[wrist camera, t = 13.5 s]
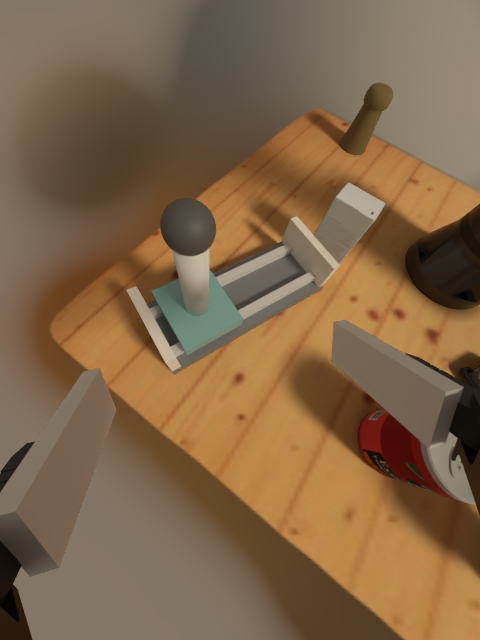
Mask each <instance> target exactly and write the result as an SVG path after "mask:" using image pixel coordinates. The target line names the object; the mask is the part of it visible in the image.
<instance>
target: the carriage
mask: <svg viewBox="0 0 480 640" xmlns="http://www.w3.org/2000/svg"><path fill="white" fill-rule="evenodd" d="M160 227H161V233H162V236H163V238H164V240H165V242H166V243H167V245H168V246H169V247H170V248H171V249H172V250H173V255H174V259H175V264H176V268H177V273H178V277H179V279H176V280H174V281H172V282H170V283H167V284H165V285H163V286H161V287H159V288H156V289H154V290H152V291H151V292H152V294H153V296H154V298H155V300H156V302H157V304H158V305H159V307H160V309H161V311H162V312H163V314H164V316H165V318H166V319H167V321H168V323H169V325H170V326H171V328H172V330H173V332H174V333H175V335H176V337H177V339H178V340H179V342H180V344H181V346H182V347H183V349H184V351H185V353H186V354H187V355H189V354H190V353H192V352H194V351H196V350H198V349H199V348H201V347H203V346H205V345H206V344H208V343H210V342H212V341H214V340H215V339H217V338H219V337H221V336H222V335H224V334H226V333H228V332H229V331H231V330H233V329H235V328H237V327H238V326H240V325H242V322H243V318H242V316H241V315H240V313H239V312H238V310H237V309H236V307H235V306H234V304H233V303H232V301H231V300H230V298H229V297H228V296H227V294H226V293H225V291H224V290H223V288H222V287H221V285H220V284H219V282H218V281H217V279H216V278H215V276H214V275H213V273H212V272H211V270H210V269H209V247H210V246H211V245H212V243H213V241H214V239H215V235H216V224H215V220H214V217H213V215H212V213H211V212H210V210H209V209H208V208H207V207H206V206H205V205H204V204H203V203H201V202H199V201H197V200H195V199H191V198H181V199H178V200H175V201H173V202H172V203H170V204H169V205H168V206H167V207H166V209H165V210H164V212H163V214H162V217H161V226H160Z"/></svg>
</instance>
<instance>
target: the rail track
mask: <svg viewBox="0 0 480 640" xmlns="http://www.w3.org/2000/svg"><path fill="white" fill-rule="evenodd" d="M339 267H340V265H339V264H338V263H337V261H336V260H335V259H334V258H333V257H332V256H331V255H330V253H329V252H328V251H327V250H326V249H325V248H324V247H323V245H322V244H321V243H320V242H319V241H318V240H317V239H316V237H315V236H314V235H313V234H312V233H311V232H310V231H309V229H308V228H307V227H306V226H305V225H304V224H303V223H302V221H301V220H300V219H299V218H298V217H297V216H296V217H294V218H291V219H290V221H289V224H288V226H287V229H286V231H285V234H284V236H283V239H282V241H281V242H280V243H278V244H276V245H273V246H271V247H269V248H267V249H265V250H263V251H260V252H258V253H256V254H254V255H252V256H250V257H248V258H245V259H243V260H241V261H239V262H237V263H235V264H233V265H230V266H228V267H226V268H224V269H222V270H220V271H217V272H215V273H213V275H214V276H215V278H216V279H217V281H218V282H219V284H220V285H221V287H222V288H223V290H224V291H225V293H226V294H227V296H228V297H229V298H230V300H231V301H232V303H233V304H234V306H235V307H236V309H237V310H238V312H239V313H240V315H241V316H242V318H243V322H242V325H240V326H238V327H237V328H235V329H233V330H231V331H229V332H228V333H226V334H224V335H222V336H221V337H219V338H217V339H215V340H214V341H212V342H210V343H208V344H206V345H205V346H203V347H201V348H199V349H198V350H196V351H194V352H192V353H190V354H189V355H187V354H186V353H185V351H184V349H183V347H182V346H181V344H180V342H179V340H178V339H177V337H176V335H175V333H174V332H173V330H172V328H171V326H170V325H169V323H168V321H167V319H166V318H165V316H164V314H163V312H162V311H161V309H160V307H159V305H158V304H157V302H156V300H155V301H153V302H151V303H149V304H146V302H145V301H144V299H143V297H142V295H141V293H140V292H139V290H138V288H137V286H135V287H132V288H130V289H128V290H126V291H127V292H128V294H129V296H130V298H131V300H132V302H133V304H134V305H135V307H136V309H137V311H138V313H139V315H140V317H141V318H142V320H143V322H144V324H145V326H146V328H147V330H148V332H149V333H150V335H151V337H152V339H153V341H154V343H155V345H156V346H157V348H158V350H159V352H160V354H161V356H162V358H163V359H164V361H165V363H166V364H167V366H168V367H169V368H170V369H171V371H172V372H173V373H174V374H176V373H178V372H179V371H181V370H183V369H185V368H186V367H188V366H190V365H191V364H193V363H195V362H197V361H198V360H200V359H202V358H204V357H205V356H207V355H209V354H210V353H212V352H214V351H216V350H217V349H219V348H221V347H222V346H224V345H226V344H228V343H229V342H231V341H233V340H235V339H236V338H238V337H240V336H241V335H243V334H245V333H247V332H248V331H250V330H252V329H254V328H255V327H257V326H259V325H260V324H262V323H264V322H266V321H267V320H269V319H271V318H273V317H274V316H276V315H278V314H279V313H281V312H283V311H285V310H286V309H288V308H290V307H291V306H293V305H295V304H297V303H298V302H300V301H302V300H304V299H305V298H307V297H309V296H310V295H312V294H314V293H316V292H317V291H319V290H320V289H321V287H322V286H323V285H324V284H325V283H326V282H327V281H328V279H329V278H330V277H331V276H332V275H333V274H334V272H335V271H336V270H337V269H338V268H339Z"/></svg>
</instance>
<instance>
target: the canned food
mask: <svg viewBox="0 0 480 640" xmlns="http://www.w3.org/2000/svg"><path fill="white" fill-rule="evenodd" d="M456 441H457V437H455V436H454V435H453V434H452V433H450V432H449V434H448V437H447V440H446V444H443V445H440V446H437V447H434V448H431V449H429V448H428V447H426V446H425V445H424V444H423V443H422V442H421V441H420V440H419V439H418V438H416V437H415V436H414V435H413V434H412V433H411V432H410V431H409V430H408V429H406V428H405V427H404V426H403V425H402V424H401V423H400V422H399V421H398V420H396V419H395V418H394V417H393V416H392V415H391V414H390V413H389V412H388V411H386V410H385V409H383V410H376V411H374V412H372V413H370V414H369V415H367V416H366V417H365V418H364V419H363V421H362V422H361V425H360V427H359V432H358V442H359V447H360V450H361V453H362V454H363V456H364V458H365V460H366V461H367V462H368V464H369V465H371V466H372V467H373V468H374V469H375V470H376V471H377V472H379V473H380V474H382V475H384V476H387V477H390V478H393V479H395V480H398V481H401V482H404V483H407V484H410V485H413V486H416V487H419V488H422V489H425V490H427V491H430V492H433V493H436V494H439V495H442V496H445V497H448V498H451V499H454V500H458V501H461V502H464V503H469V504H474V505H476V503H475V500H474V497H473V494H472V491H471V488H470V485H469V482H468V480H467V477H466V474H465V471H464V468H463V465H462V463H461V459H460V456H459V455H458V456H457V458H456V460H455V461H452V460H451V456H452V453H453V450H454V447H455V444H456Z"/></svg>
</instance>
